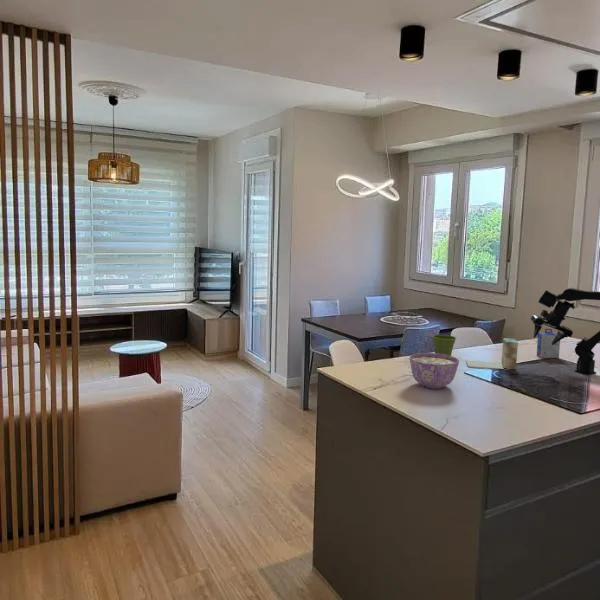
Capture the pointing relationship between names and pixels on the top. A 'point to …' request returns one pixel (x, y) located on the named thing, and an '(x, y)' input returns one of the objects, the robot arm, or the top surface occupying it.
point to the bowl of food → (433, 369)
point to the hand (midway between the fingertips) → (543, 341)
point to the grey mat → (484, 364)
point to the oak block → (509, 353)
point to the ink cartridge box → (547, 345)
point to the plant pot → (443, 344)
